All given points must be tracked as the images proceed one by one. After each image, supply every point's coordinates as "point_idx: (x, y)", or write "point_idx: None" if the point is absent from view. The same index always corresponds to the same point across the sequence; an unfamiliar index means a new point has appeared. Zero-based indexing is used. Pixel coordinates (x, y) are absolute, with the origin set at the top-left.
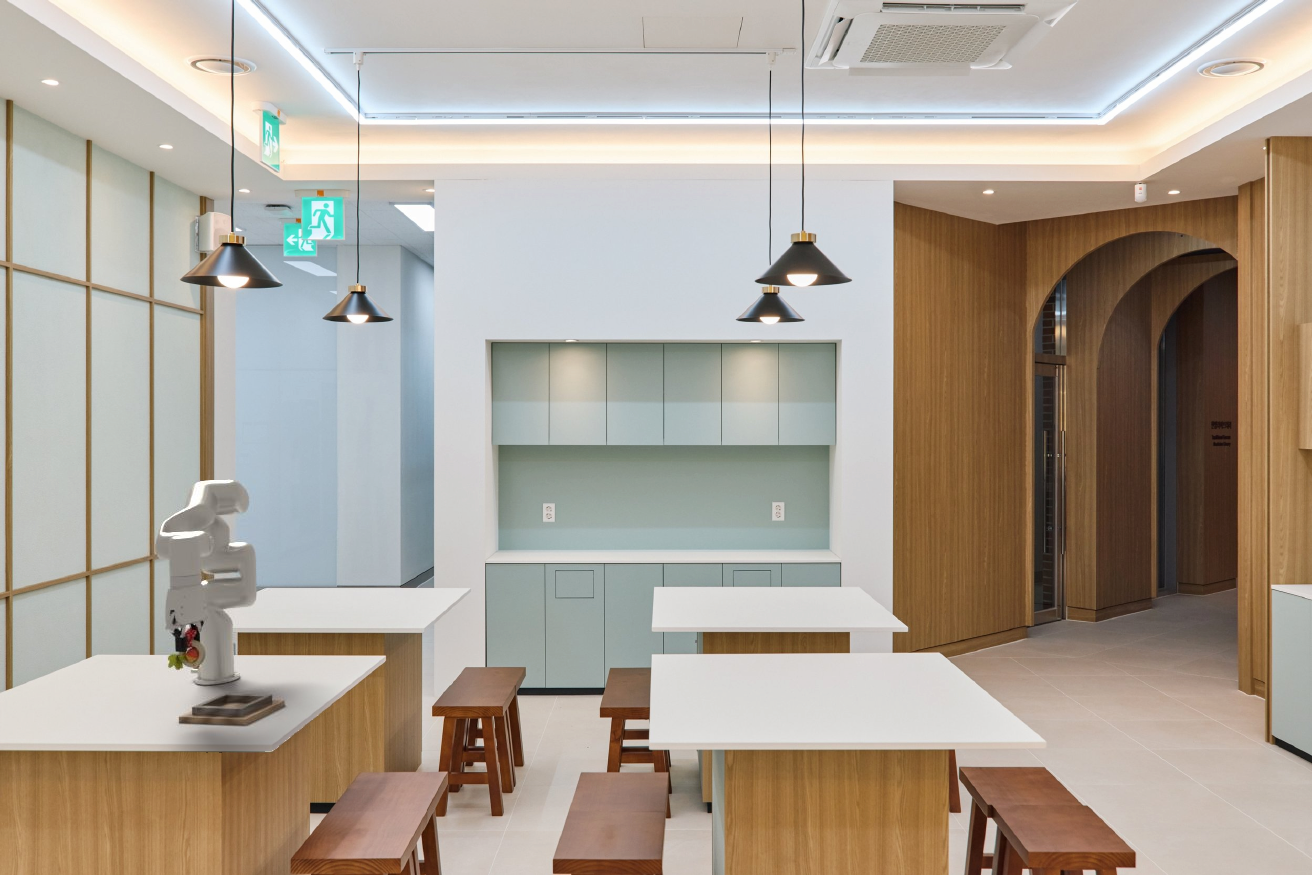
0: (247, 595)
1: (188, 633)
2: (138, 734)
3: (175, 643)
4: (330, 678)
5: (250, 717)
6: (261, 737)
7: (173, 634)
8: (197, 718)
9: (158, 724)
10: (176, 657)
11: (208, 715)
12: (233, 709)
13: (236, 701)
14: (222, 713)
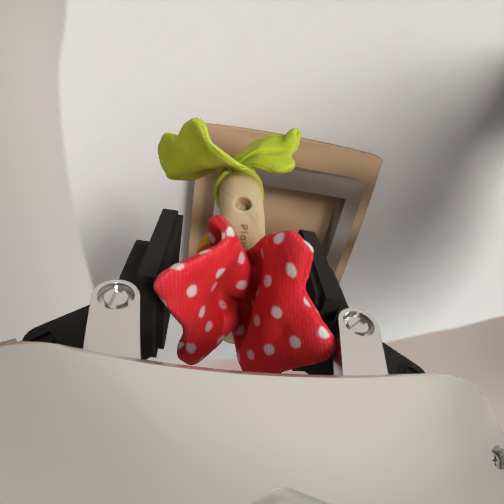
0: None
1: (258, 332)
2: (100, 81)
3: (151, 239)
4: (477, 297)
5: None
6: None
7: (68, 321)
8: (194, 185)
9: (184, 74)
10: (208, 168)
11: (212, 207)
12: None
13: (330, 221)
14: None
